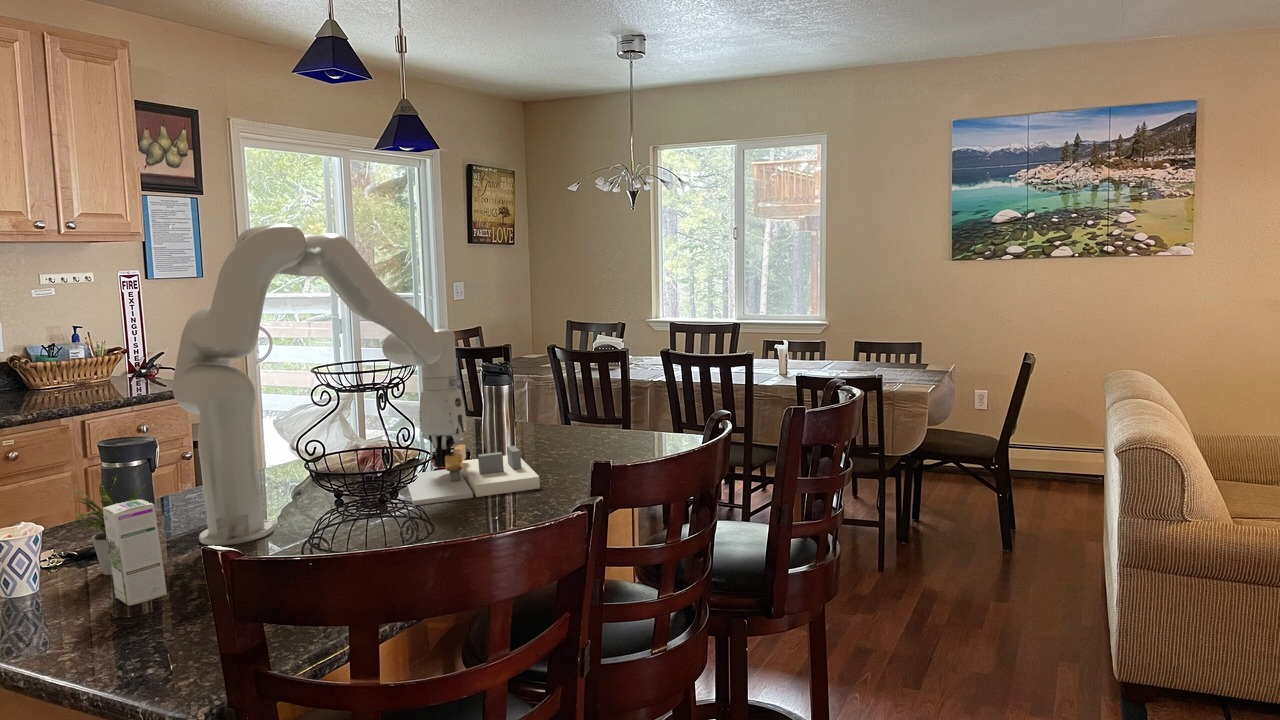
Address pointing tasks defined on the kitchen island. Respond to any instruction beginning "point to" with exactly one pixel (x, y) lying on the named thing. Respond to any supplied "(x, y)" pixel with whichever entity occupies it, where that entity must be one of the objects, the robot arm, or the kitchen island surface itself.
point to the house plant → (100, 526)
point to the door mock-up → (475, 479)
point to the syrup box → (134, 551)
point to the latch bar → (456, 458)
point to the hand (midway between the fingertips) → (444, 465)
